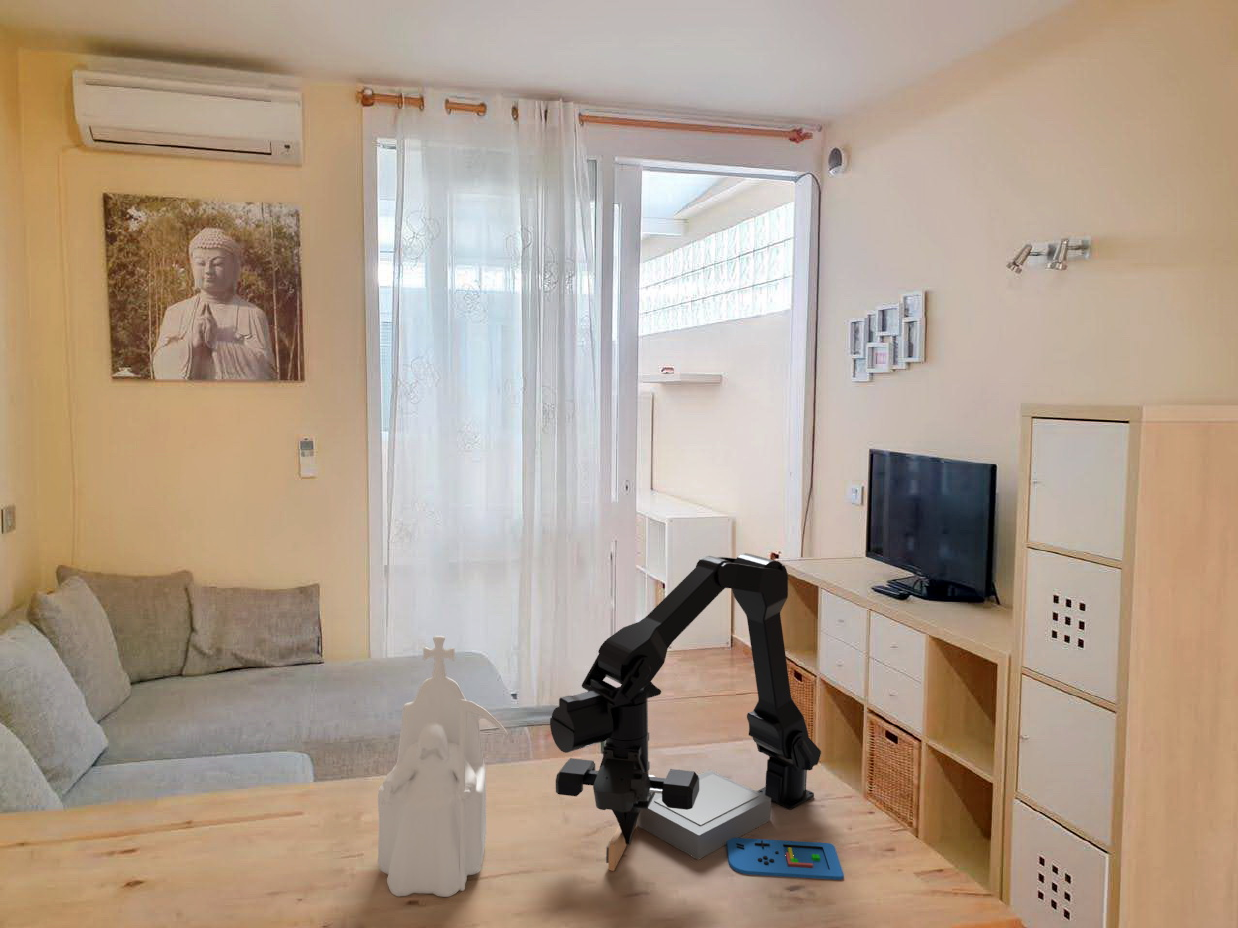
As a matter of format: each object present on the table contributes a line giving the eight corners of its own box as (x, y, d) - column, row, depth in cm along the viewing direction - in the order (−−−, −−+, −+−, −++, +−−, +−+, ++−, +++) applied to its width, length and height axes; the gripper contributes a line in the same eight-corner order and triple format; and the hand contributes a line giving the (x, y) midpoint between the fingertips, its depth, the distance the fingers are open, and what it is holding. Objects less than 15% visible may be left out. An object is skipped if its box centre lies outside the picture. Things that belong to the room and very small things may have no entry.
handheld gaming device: (726, 834, 125) (833, 840, 124) (726, 842, 125) (833, 848, 124) (730, 867, 117) (844, 874, 116) (729, 875, 117) (844, 882, 116)
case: (708, 790, 139) (709, 768, 139) (770, 820, 131) (771, 796, 130) (636, 824, 128) (637, 801, 128) (698, 859, 120) (699, 834, 119)
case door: (636, 825, 128) (637, 801, 127) (614, 870, 116) (614, 844, 116) (628, 824, 128) (629, 800, 128) (605, 868, 117) (606, 843, 116)
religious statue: (367, 900, 109) (363, 668, 105) (394, 839, 123) (391, 631, 119) (506, 902, 110) (507, 670, 106) (517, 841, 123) (519, 633, 119)
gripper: (539, 749, 113) (542, 865, 114) (683, 765, 108) (684, 885, 109) (567, 717, 123) (570, 823, 125) (699, 729, 118) (700, 839, 120)
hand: (628, 842), depth 119 cm, fingers closed
